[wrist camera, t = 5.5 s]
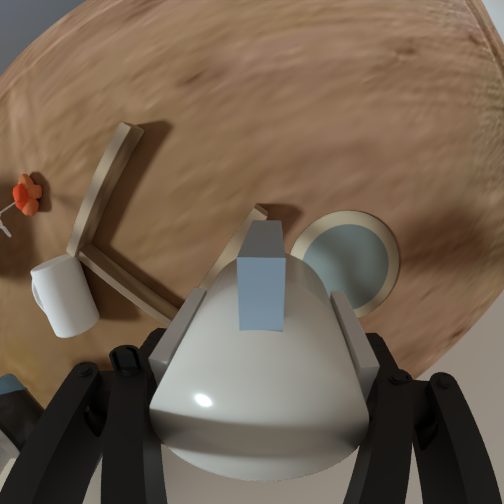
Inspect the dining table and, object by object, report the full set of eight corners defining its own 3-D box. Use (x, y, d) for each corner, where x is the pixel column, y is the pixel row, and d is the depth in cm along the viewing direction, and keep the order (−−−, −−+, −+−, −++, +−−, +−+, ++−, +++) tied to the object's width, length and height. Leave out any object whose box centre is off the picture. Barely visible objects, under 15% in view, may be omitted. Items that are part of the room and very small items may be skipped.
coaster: (347, 336, 34) (348, 338, 33) (263, 281, 32) (263, 283, 32) (416, 256, 30) (418, 257, 29) (337, 185, 28) (338, 185, 28)
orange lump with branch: (35, 232, 33) (-18, 254, 22) (20, 182, 31) (-33, 193, 20) (53, 218, 32) (-5, 239, 21) (37, 164, 30) (-21, 171, 19)
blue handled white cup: (213, 352, 17) (174, 470, 8) (201, 211, 14) (104, 275, 6) (320, 355, 16) (341, 477, 8) (335, 212, 14) (419, 280, 5)
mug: (87, 248, 33) (51, 267, 26) (109, 311, 36) (80, 339, 28) (41, 260, 35) (9, 277, 27) (61, 313, 37) (34, 336, 30)
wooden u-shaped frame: (188, 324, 35) (180, 338, 32) (81, 243, 33) (66, 250, 30) (268, 211, 30) (267, 217, 26) (135, 125, 28) (121, 121, 24)
